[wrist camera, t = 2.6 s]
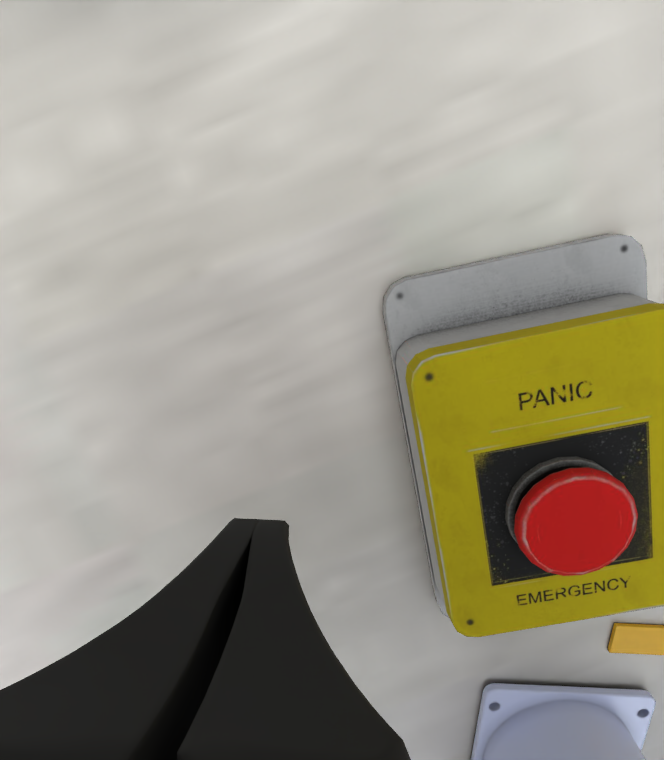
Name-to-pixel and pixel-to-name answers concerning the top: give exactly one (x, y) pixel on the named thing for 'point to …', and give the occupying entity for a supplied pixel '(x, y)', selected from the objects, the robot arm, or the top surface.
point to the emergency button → (535, 432)
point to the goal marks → (637, 639)
